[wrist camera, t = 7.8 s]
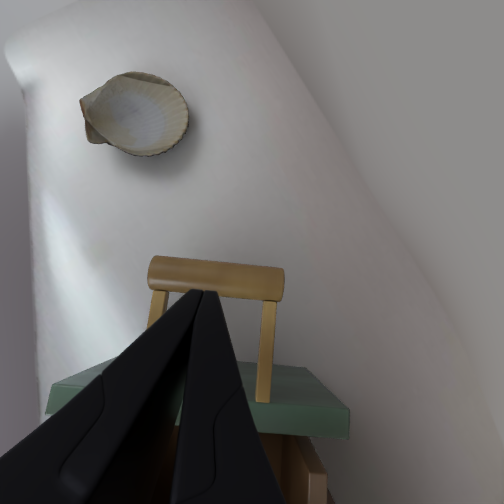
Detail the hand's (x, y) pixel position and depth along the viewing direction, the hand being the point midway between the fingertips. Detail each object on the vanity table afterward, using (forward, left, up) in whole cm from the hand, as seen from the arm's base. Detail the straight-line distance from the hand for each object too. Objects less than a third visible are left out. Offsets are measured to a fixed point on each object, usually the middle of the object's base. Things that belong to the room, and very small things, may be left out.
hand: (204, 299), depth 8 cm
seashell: (+13, +10, -12) cm, 21 cm away
